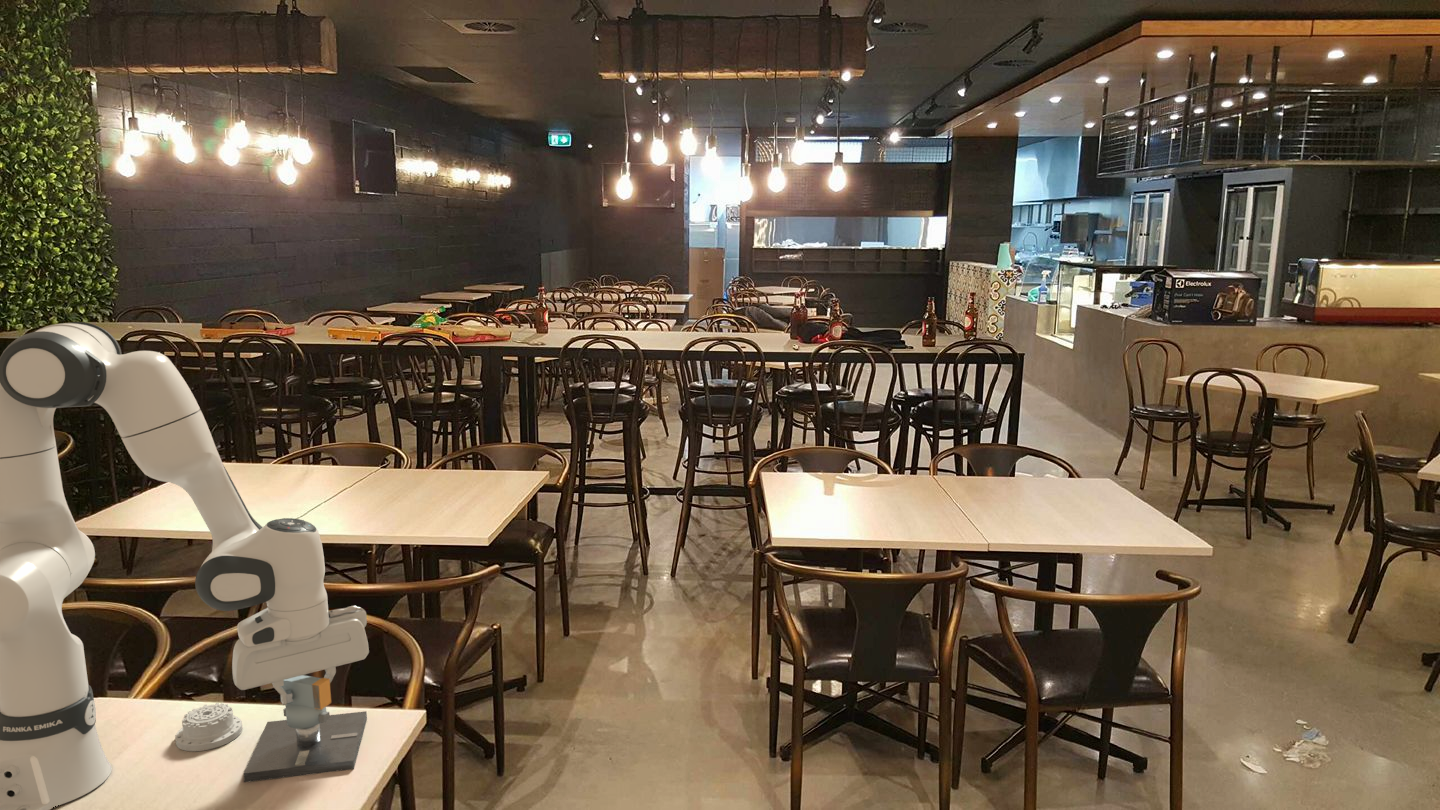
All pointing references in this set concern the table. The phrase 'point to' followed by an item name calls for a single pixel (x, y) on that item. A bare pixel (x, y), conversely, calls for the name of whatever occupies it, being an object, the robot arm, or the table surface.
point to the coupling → (307, 701)
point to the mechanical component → (208, 728)
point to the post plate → (307, 748)
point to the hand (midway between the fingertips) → (305, 697)
